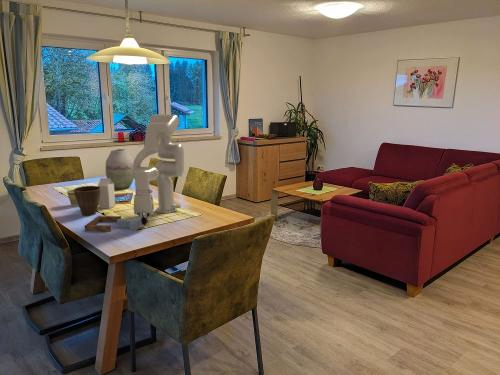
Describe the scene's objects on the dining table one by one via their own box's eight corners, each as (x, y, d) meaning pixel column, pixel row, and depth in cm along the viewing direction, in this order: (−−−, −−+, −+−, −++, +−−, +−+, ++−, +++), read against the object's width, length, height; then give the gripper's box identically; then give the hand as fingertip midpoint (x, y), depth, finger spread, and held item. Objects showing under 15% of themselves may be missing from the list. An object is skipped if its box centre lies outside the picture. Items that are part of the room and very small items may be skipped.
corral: (121, 221, 227) (121, 216, 227) (109, 231, 210) (109, 226, 209) (98, 220, 228) (98, 215, 227) (84, 231, 210) (84, 225, 210)
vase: (109, 185, 318) (106, 148, 311) (136, 184, 321) (134, 147, 315) (104, 191, 297) (101, 152, 290) (134, 190, 301) (131, 151, 294)
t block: (143, 223, 224) (142, 216, 223) (136, 230, 212) (136, 223, 212) (122, 222, 225) (122, 216, 224) (114, 229, 213) (114, 222, 212)
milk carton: (109, 208, 252) (107, 179, 248) (99, 208, 254) (97, 179, 249) (115, 205, 259) (113, 177, 255) (105, 205, 260) (103, 177, 256)
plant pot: (107, 213, 241) (105, 188, 238) (83, 219, 231) (80, 192, 227) (95, 209, 251) (93, 184, 248) (71, 214, 240) (69, 188, 237)
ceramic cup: (71, 208, 252) (69, 193, 250) (66, 205, 260) (65, 190, 257) (91, 205, 260) (90, 190, 258) (87, 202, 268) (85, 187, 265)
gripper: (158, 190, 217) (159, 222, 221) (131, 190, 218) (133, 222, 222) (154, 194, 210) (156, 226, 214) (126, 193, 210) (129, 226, 214)
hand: (144, 224), depth 218 cm, fingers closed
